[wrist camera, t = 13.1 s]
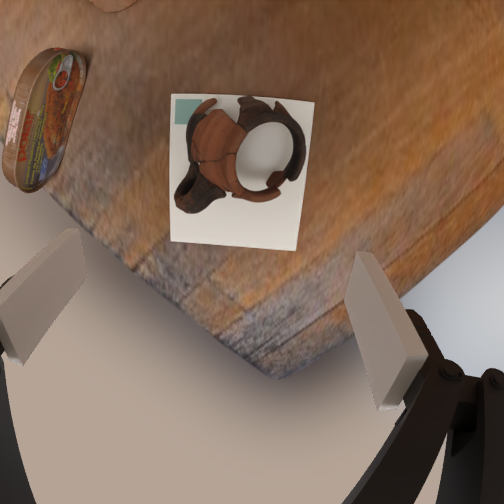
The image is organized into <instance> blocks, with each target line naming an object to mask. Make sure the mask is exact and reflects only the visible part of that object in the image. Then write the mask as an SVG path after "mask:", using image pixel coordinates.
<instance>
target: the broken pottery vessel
mask: <svg viewBox="0 0 504 504" xmlns="http://www.w3.org/2000/svg"><path fill="white" fill-rule="evenodd" d="M237 102H238V103H239V105H240V109H239V117H238V121H237V123H235V122H234V121H233V120H232V119H231V118H230V117H229V116H228V115H227V114H226V113H225V112H224V110H223V109H214V110H212V111H211V112H210V113H209V114H208V115H206V114H204V113H205V112H206V111H207V110H208V109H209V108H210V107H212V106H213V105H215V104H216V103H217V100H216V99H215V98H211V99H208V100H206V101H204V102H203V103H202V104H200V105H199V106H198V107H197V108H196V110H195V111H194V112H193V114H192V115H191V117H190V119H189V121H188V124H187V128H186V143H187V153H188V161H189V162H190V166H189V170H188V172H187V174H186V176H185V177H184V179H183V180H182V181H181V182H180V184H179V185H178V187H177V189H176V191H175V193H174V201H175V204H176V207H177V208H179V209H180V210H182V211H184V212H185V213H187V214H196V213H199V212H201V211H203V210H204V209H206V208H207V207H208V206H209V205H210V204H211V203H212V202H213V201H215V200H217V199H221V198H225V197H226V195H227V194H226V192H231V193H232V197H233V198H238V199H244V200H247V201H250V202H257V203H260V202H266V201H271V200H273V199H275V198H277V197H279V196H280V195H281V191H280V190H279V189H278V188H279V187H280V186H281V185H282V184H283V183H284V182H285V180H286V179H288V180H289V181H291V182H292V181H295V180H297V178H298V177H299V175H300V173H301V171H302V168H303V165H304V163H305V158H306V145H305V143H306V140H305V135H304V133H303V131H302V128H301V126H300V125H299V124H298V123H297V121H296V120H294V119H293V118H292V117H291V115H290V114H289V113H288V111H287V110H286V109H285V107H284V106H283V105H282V104H281V103H280V102H278V101H275V107H274V109H273V110H272V109H271V108H270V106H269V105H268V104H266V103H265V102H264V101H261V100H257V99H255V98H254V97H252V96H244V97H240V98H238V99H237ZM268 122H278V123H282V124H283V125H285V126H286V127H287V128H288V130H289V131H290V133H291V135H292V139H293V153H292V156H291V159H290V161H289V162H288V164H287V166H286V167H285V169H284V170H283V171H274V172H273V173H272V174H271V175H270V176H269V178H268V180H267V181H266V186H267V187H268V188H266V189H264V190H260V191H251V190H248V189H247V188H245V187H243V186H242V185H241V183H240V182H239V180H238V177H237V174H236V157H237V152H238V150H239V147H240V145H241V144H242V142H243V140H244V139H245V138H246V136H247V135H248V133H249V132H250V131H252V130H253V129H254V128H256V127H257V126H259V125H261V124H264V123H268ZM197 162H199V163H200V165H199V164H198V163H197Z"/></svg>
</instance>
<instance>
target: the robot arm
mask: <svg viewBox="0 0 504 504" xmlns="http://www.w3.org/2000/svg"><path fill="white" fill-rule="evenodd" d="M87 278H88V276H87V271H86V265H85V260H84V255H83V249H82V243H81V237H80V230H79V229H71V228H67V229H65V230H64V231H63V232H62V233H61V234H60V235H58V236H57V237H56V238H55V239H54V240H53V241H51V242H50V243H49V244H48V245H47V246H46V247H45V248H43V249H42V250H41V251H40V252H39V253H38V254H37V255H36V256H35V257H33V258H32V259H31V260H30V261H29V262H28V263H27V264H26V265H25V266H24V267H23V268H22V269H20V271H18V272H17V273H16V274H15V275H14V276H12V277H10V278H9V279H7V280H6V281H5V282H4V283H3V284H2V286H1V287H0V504H36V502H35V499H34V497H33V494H32V491H31V488H30V485H29V482H28V479H27V476H26V473H25V469H24V466H23V462H22V459H21V455H20V452H19V447H18V443H17V439H16V435H15V431H14V426H13V421H12V417H11V411H10V405H9V399H8V393H7V386H6V378H5V370H4V362H3V359H2V357H1V355H2V353H3V352H4V350H5V352H6V354H7V356H8V358H9V360H10V361H11V362H14V363H16V364H20V365H22V366H23V365H24V364H25V362H26V361H27V359H28V358H29V356H30V355H31V353H32V352H33V350H34V349H35V347H36V346H37V345H38V343H39V342H40V340H41V339H42V337H43V336H44V335H45V333H46V332H47V330H48V329H49V328H50V326H51V325H52V323H53V322H54V320H55V319H56V318H57V316H58V315H59V314H60V313H61V311H62V310H63V309H64V307H65V306H66V305H67V303H68V302H69V300H70V299H71V298H72V297H73V296H74V294H75V293H76V292H77V290H78V289H79V288H80V286H81V285H82V284H83V283H84V282H85V280H86V279H87ZM344 303H345V306H346V309H347V312H348V315H349V318H350V321H351V324H352V327H353V330H354V333H355V336H356V339H357V343H358V346H359V349H360V352H361V356H362V359H363V362H364V365H365V369H366V372H367V376H368V379H369V383H370V386H371V390H372V393H373V397H374V401H375V404H376V408H377V410H378V411H380V410H391V409H397V407H398V406H399V404H400V402H401V401H402V399H403V400H404V403H405V406H406V408H405V410H404V411H403V413H402V414H401V416H400V417H399V418H398V420H397V421H396V423H395V427H394V428H393V430H392V432H391V433H390V435H389V437H388V438H387V440H386V441H385V443H384V445H383V446H382V448H381V449H380V451H379V452H378V454H377V455H376V457H375V458H374V460H373V461H372V463H371V465H370V466H369V467H368V469H367V470H366V472H365V473H364V475H363V476H362V477H361V479H360V480H359V481H358V483H357V484H356V486H355V487H354V488H353V490H352V491H351V492H350V494H349V495H348V496H347V497H346V499H345V500H344V501H343V503H342V504H414V502H415V500H416V498H417V497H418V495H419V493H420V491H421V489H422V487H423V485H424V483H425V481H426V479H427V477H428V475H429V473H430V471H431V469H432V467H433V464H434V462H435V460H436V458H437V456H438V453H439V451H440V449H441V446H442V444H443V441H444V439H445V437H446V434H447V441H446V450H445V456H444V463H443V469H442V475H441V481H440V486H439V491H438V495H437V500H436V504H504V373H503V372H502V371H500V370H498V369H495V368H490V369H487V370H486V371H485V372H484V373H483V375H482V376H481V378H479V377H473V376H467V375H465V374H464V372H463V370H462V369H461V367H460V366H459V365H458V364H456V363H455V362H453V361H451V360H448V359H444V356H443V355H442V353H441V351H440V349H439V347H438V345H437V344H436V342H435V340H434V338H433V336H432V335H431V332H430V331H429V329H428V328H427V325H426V324H425V322H424V320H423V318H422V317H421V316H420V315H418V313H416V312H415V311H414V310H411V309H404V307H403V305H402V303H401V301H400V300H399V298H398V296H397V294H396V292H395V291H394V289H393V287H392V285H391V284H390V282H389V280H388V278H387V277H386V275H385V273H384V272H383V270H382V268H381V267H380V265H379V263H378V261H377V260H376V258H375V257H374V255H373V253H372V252H363V251H356V256H355V260H354V264H353V268H352V272H351V276H350V280H349V283H348V287H347V291H346V295H345V298H344Z"/></svg>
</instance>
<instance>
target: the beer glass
mask: <svg viewBox="0 0 504 504" xmlns="http://www.w3.org/2000/svg"><path fill="white" fill-rule="evenodd" d="M88 1H91V2H92V3H93V4H94V5H95V6H96V7H97V8H99V9H100V10H102V11H105V12H117V11H121V10H123V9H125V8H127V7H129V6H131V5H132V4H133V3H134V2H136V1H137V0H88Z"/></svg>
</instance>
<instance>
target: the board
mask: <svg viewBox="0 0 504 504" xmlns="http://www.w3.org/2000/svg"><path fill="white" fill-rule="evenodd" d="M240 97H244V96H241V95H221V94H171V117H170V232H171V241H177V242H189V243H202V244H215V245H227V246H240V247H252V248H265V249H277V250H289V251H296V245H297V238H298V231H299V224H300V217H301V210H302V203H303V195H304V188H305V180H306V172H307V164H308V156H309V148H310V139H311V131H312V122H313V113H314V103H313V102H305V101H297V100H289V99H279V98H268V97H256V96H252V97H254V98H255V99H257V100H261V101H264V102H265V103H266V104H268V105H269V106H270V108H271V109H272V110H273V109H274V107H275V101H278V102H280V103H281V104H282V105H283V106H284V107H285V109H286V110H287V111H288V113H289V114H290V115H291V117H292V118H293V119H294V120H296V121H297V123H298V124H299V125H300V126H301V128H302V131H303V133H304V135H305V140H306V143H305V145H306V158H305V163H304V165H303V168H302V171H301V173H300V175H299V177H298V178H297V180H295V181H292V182H291V181H289V180H288V179H286V180H285V182H284V183H283V184H282V185H281V186H280V187H279V188H278V189H279V190H280V191H281V195H280V196H279V197H277V198H275V199H273V200H271V201H266V202H260V203H257V202H250V201H247V200H244V199H238V198H233V197H232V193H231V192H226V194H227V195H226V197H225V198H221V199H217V200H215V201H213V202H212V203H211V204H210V205H209V206H208V207H207V208H206V209H204V210H203V211H201V212H199V213H196V214H187V213H185V212H184V211H182V210H180V209H179V208H177V207H176V204H175V201H174V193H175V191H176V189H177V187H178V185H179V184H180V182H181V181H182V180H183V179H184V177H185V176H186V174H187V172H188V170H189V166H190V162H189V161H188V153H187V143H186V128H187V124H188V121H189V119H190V117H191V115H192V114H193V112H194V111H195V110H196V108H197V107H198V106H199V105H200V104H202V103H203V102H204V101H206V100H208V99H211V98H215V99H216V100H217V103H216V104H215V105H213V106H212V107H210V108H209V109H208V110H207V111H206V112H205V113H204V114H206V115H208V114H209V113H210V112H211V111H212V110H214V109H223V110H224V112H225V113H226V114H227V115H228V116H229V117H230V118H231V119H232V120H233V121H234V122H235V123H237V121H238V117H239V109H240V105H239V103H238V102H237V99H238V98H240ZM292 153H293V139H292V135H291V133H290V131H289V130H288V128H287V127H286V126H285V125H283V124H282V123H278V122H268V123H264V124H261V125H259V126H257V127H256V128H254V129H253V130H252V131H250V132H249V133H248V135H247V136H246V138H245V139H244V140H243V142H242V144H241V145H240V147H239V150H238V152H237V157H236V174H237V177H238V180H239V182H240V183H241V185H242V186H243V187H245V188H247V189H248V190H251V191H260V190H264V189H266V188H268V187H267V186H266V181H267V180H268V178H269V176H270V175H271V174H272V173H273V172H274V171H283V170H284V169H285V167H286V166H287V164H288V162H289V161H290V159H291V156H292ZM197 163H198V164H199V165H200V163H199V162H197Z"/></svg>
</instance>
